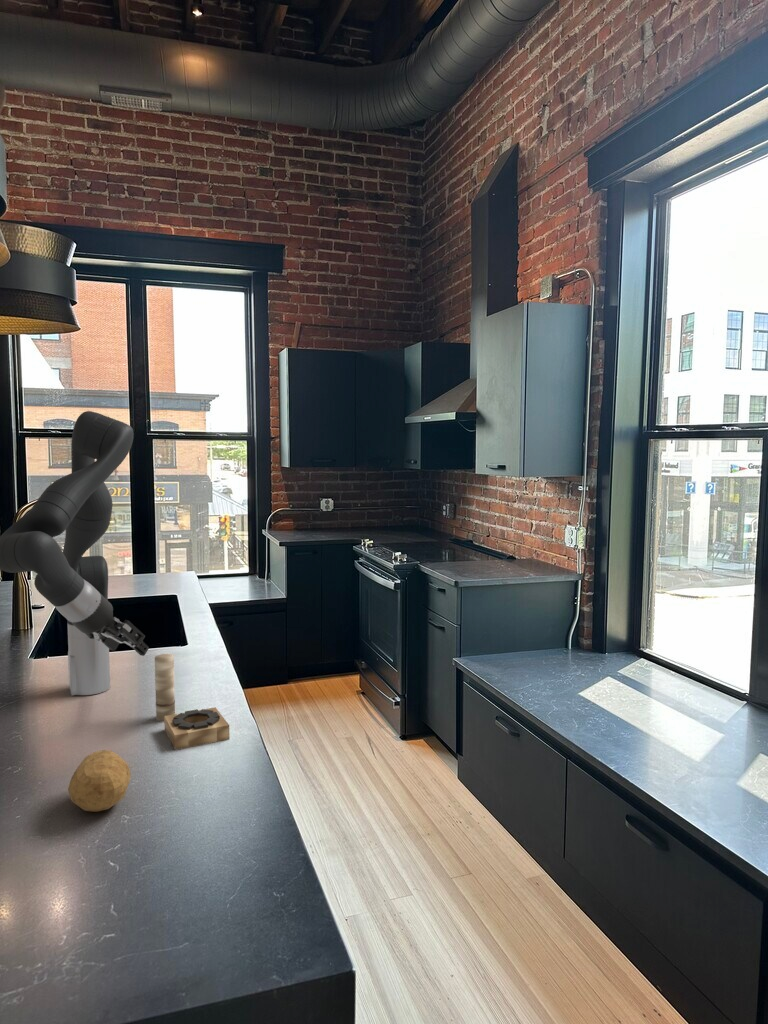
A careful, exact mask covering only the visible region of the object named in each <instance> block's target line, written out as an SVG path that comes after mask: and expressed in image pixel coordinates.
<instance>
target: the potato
mask: <svg viewBox="0 0 768 1024" xmlns="http://www.w3.org/2000/svg"><path fill="white" fill-rule="evenodd" d="M131 774H132V773H131V769H130V765H128V763H127V761H125V760H124V759H123V758H122V757H121V756H120V755H119V754H117V753H116V752H114V751H112V750H106V749H104V750H98V751H94V752H92V753H90V754H88V755H87V756H85V757H84V758H83V760H82V761H81V762H80V763H79V765H78V766H77V768H76V769H75V771H74V772H73V775H72V777H71V778H70V782H69V784H68V789H67V791H68V794H69V799H70V800H71V802H72V803H73V804H75V805H76V806H78V808H80V809H82V811H85V812H94V813H95V812H101V811H106V810H109V809H111V808H112V807H114V806H115V805H116V804H117V803H119V802H120V801H121V800H123V799H124V798H125V796H126V794H127V791H128V787H129V784H130V781H131V780H132V777H131Z"/></svg>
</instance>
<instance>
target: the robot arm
mask: <svg viewBox="0 0 768 1024" xmlns="http://www.w3.org/2000/svg"><path fill="white" fill-rule="evenodd" d="M133 441H134V429H133V427H132V426H131V425H129V424H127V423H126V422H123V421H121V420H119V419H115V418H112V417H110V416H107V415H104V414H102V413H99V412H97V411H96V412H95V411H91V410H87V411H83V412H81V414H79V416H78V417H77V418H76V420H75V422H74V426H73V430H72V435H71V444H70V445H71V446H70V447H71V449H70V450H71V451H70V452H71V455H70V457H71V458H70V460H71V473H68V474H67V475H64V476H62V477H60V478H58V479H56V480H55V481H53V482H52V483H51V484H50V485H49V486H47V487H46V489H45V490H44V491H43V492H42V493H41V494H40V496H39V497H38V499H37V500H36V501H35V503H33V505H32V507H31V508H30V509H29V511H28V512H26V513H24V515H23V516H21V517H20V518H19V519H18V520H16V521H15V522H14V523H13V524H12V525H10V526H9V527H8V528H7V529H6V530H5V531H4V532H3V533H2V534H1V536H0V570H1V571H3V572H6V573H11V574H12V573H13V574H14V573H15V574H16V573H17V574H18V573H19V574H20V573H27V572H34V573H36V576H35V578H34V587H35V589H36V590H37V592H38V593H39V594H40V595H41V596H42V597H43V598H45V599H46V600H47V601H48V602H49V603H50V604H51V605H53V606H54V608H55V609H56V611H58V613H60V615H62V616H63V617H64V618H65V619H66V620H67V621H66V622H67V623H66V624H67V645H68V651H67V661H68V665H67V666H68V668H67V669H68V687H69V688H68V689H69V693H70V696H90V695H96V694H101V693H104V692H106V691H108V690H109V689H110V688H111V664H110V651H113V652H114V651H116V650H117V649H118V646H120V644H126V645H127V646H129V647H130V648H132V649H133V651H135V652H136V653H137V654H138V655H139V656H142V657H144V656H145V655H146V654H147V652H148V650H149V646H148V645H147V644H146V643H145V641H144V639H145V637H146V635H145V634H144V633H143V632H142V631H141V630H140V629H139V628H137V627H136V626H135V625H134V624H133V623H132V622H131V621H130V620H128V619H125V620H124V621H123V622H122V621H120V619H119V618H117V617H116V616H114V612H113V611H114V607H113V605H112V603H111V602H110V601H109V599H108V597H109V567H108V563H107V559H106V558H105V557H104V556H102V555H89V556H88V555H87V556H84V554H85V553H86V552H87V551H88V550H89V549H90V548H91V547H92V546H93V545H94V544H95V543H96V542H98V541H99V540H100V539H101V538H102V537H103V535H105V533H106V532H107V530H108V528H109V526H110V524H111V519H112V518H111V517H112V512H113V511H112V510H113V506H114V505H113V499H112V495H111V492H110V491H109V489H108V487H107V485H106V483H105V481H106V480H107V479H108V478H109V477H110V476H111V475H112V474H113V473H114V472H115V471H116V469H118V468H119V467H120V465H122V463H123V462H124V460H125V459H126V457H127V456H128V454H129V453H130V451H131V448H132V445H133ZM64 532H65V536H64V537H65V538H64V543H63V544H64V545H63V549H62V548H61V547H60V545H59V543H58V541H56V539H54V538H56V537H58V536H60V535H61V534H63V533H64ZM120 635H121V637H119V636H120Z"/></svg>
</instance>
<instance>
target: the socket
mask: <svg viewBox="0 0 768 1024" xmlns="http://www.w3.org/2000/svg"><path fill="white" fill-rule="evenodd" d="M163 723H164V732H165V733H166V735H167V737H168V739H169V741H170V742H171V744H172V747H173V748H174V750H176V749H177V750H181V748H182V749H186V747H187V748H192V747H197V746H201V745H206V744H211V743H216V742H222V741H228V740H230V724H229V723H228V722H227V720H226V719H225V717H224V716H223V715H222V713H221V712H220V711H219V710H218V708H217V707H211V708H209V707H208V708H202V709H193V710H191V709H190V710H186V711H184V712H180V713H175V714H174V715H168V716H164V722H163Z"/></svg>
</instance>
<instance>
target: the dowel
mask: <svg viewBox="0 0 768 1024" xmlns="http://www.w3.org/2000/svg"><path fill="white" fill-rule="evenodd" d="M174 657H175V656H174V655H173V654H171V653H162V654H158V655H155V656H154V680H155V683H154V685H155V687H154V688H155V710H156V711H155V714H156V716H155V718H156V719H157V720H156V721H158V722H162V721H164V716H168V715H174V714H176V696H175V668H174V667H175V663H174V662H175V659H174Z"/></svg>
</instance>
